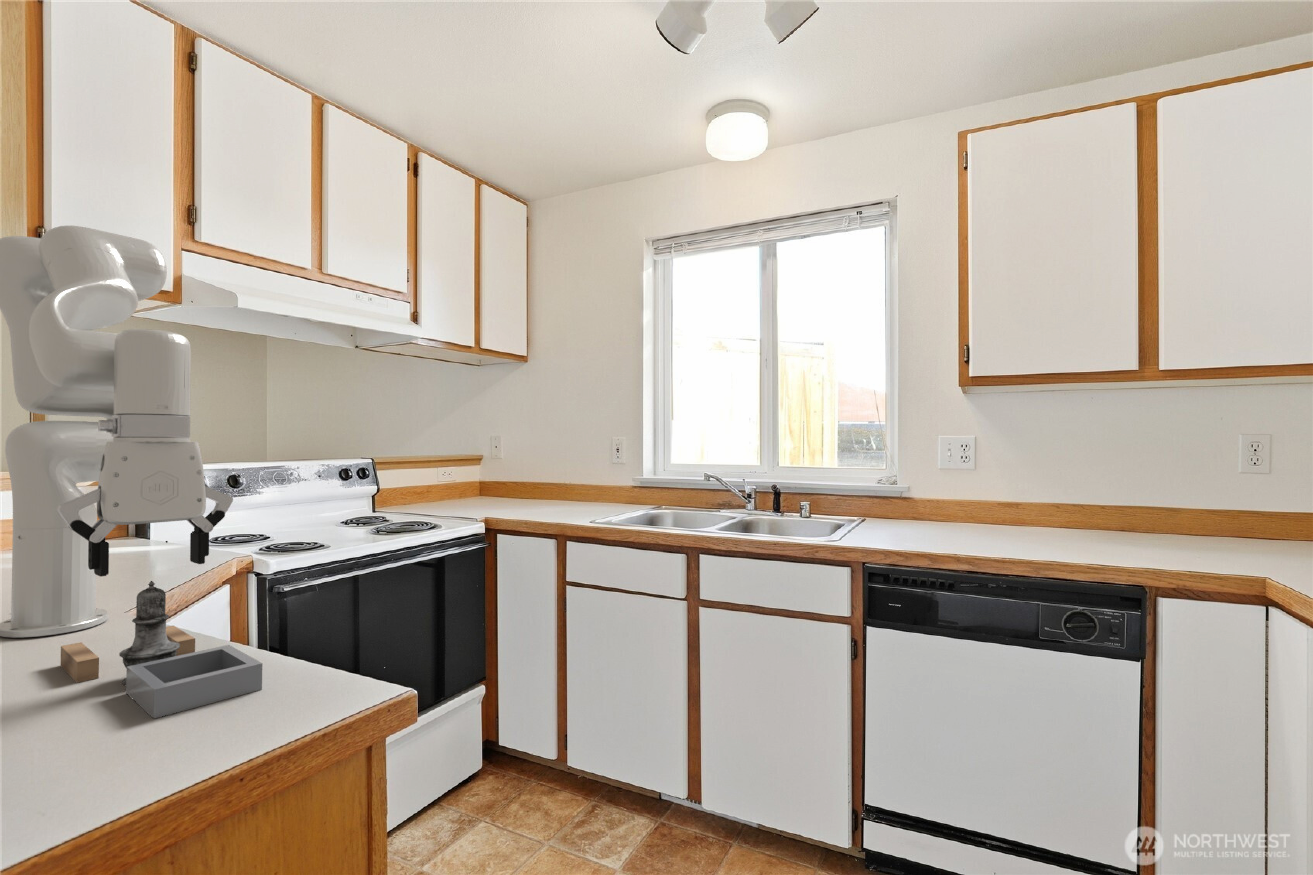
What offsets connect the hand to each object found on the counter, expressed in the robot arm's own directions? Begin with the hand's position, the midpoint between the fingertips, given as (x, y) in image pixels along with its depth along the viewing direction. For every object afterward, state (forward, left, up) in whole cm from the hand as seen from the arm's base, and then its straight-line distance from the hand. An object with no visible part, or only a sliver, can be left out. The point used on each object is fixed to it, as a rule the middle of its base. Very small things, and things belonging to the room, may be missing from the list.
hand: (151, 568), depth 79 cm
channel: (-9, 0, -13) cm, 16 cm away
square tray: (+9, +2, -13) cm, 16 cm away
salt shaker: (0, 0, -14) cm, 14 cm away
